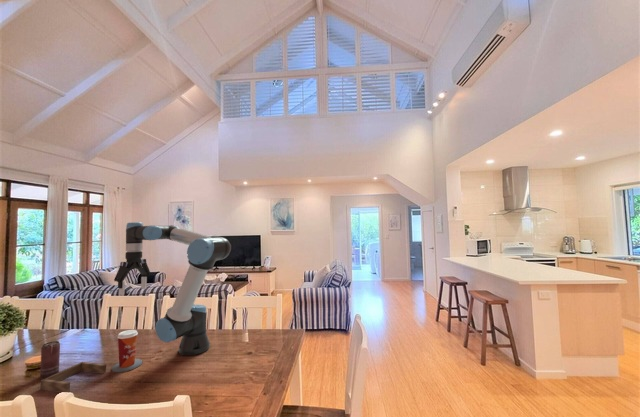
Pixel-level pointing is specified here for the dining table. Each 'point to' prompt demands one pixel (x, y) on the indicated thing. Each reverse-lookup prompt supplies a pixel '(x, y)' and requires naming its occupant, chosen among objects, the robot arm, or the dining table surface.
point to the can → (50, 359)
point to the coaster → (135, 365)
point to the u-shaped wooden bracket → (56, 380)
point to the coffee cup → (127, 347)
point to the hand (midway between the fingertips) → (133, 291)
